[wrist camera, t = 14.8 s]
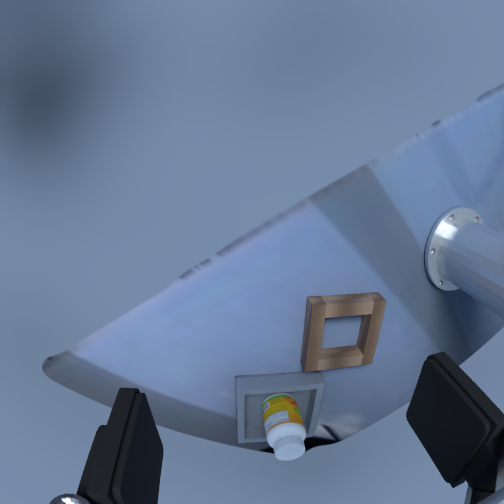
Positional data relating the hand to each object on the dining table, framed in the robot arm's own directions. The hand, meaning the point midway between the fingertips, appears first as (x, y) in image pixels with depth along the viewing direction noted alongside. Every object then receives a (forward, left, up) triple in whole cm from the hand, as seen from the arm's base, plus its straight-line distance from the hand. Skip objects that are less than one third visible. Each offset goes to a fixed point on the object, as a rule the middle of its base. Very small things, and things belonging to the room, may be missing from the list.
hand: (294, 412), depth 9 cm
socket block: (-13, +14, -28) cm, 34 cm away
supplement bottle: (-6, +27, -27) cm, 39 cm away
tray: (-5, +27, -28) cm, 39 cm away
